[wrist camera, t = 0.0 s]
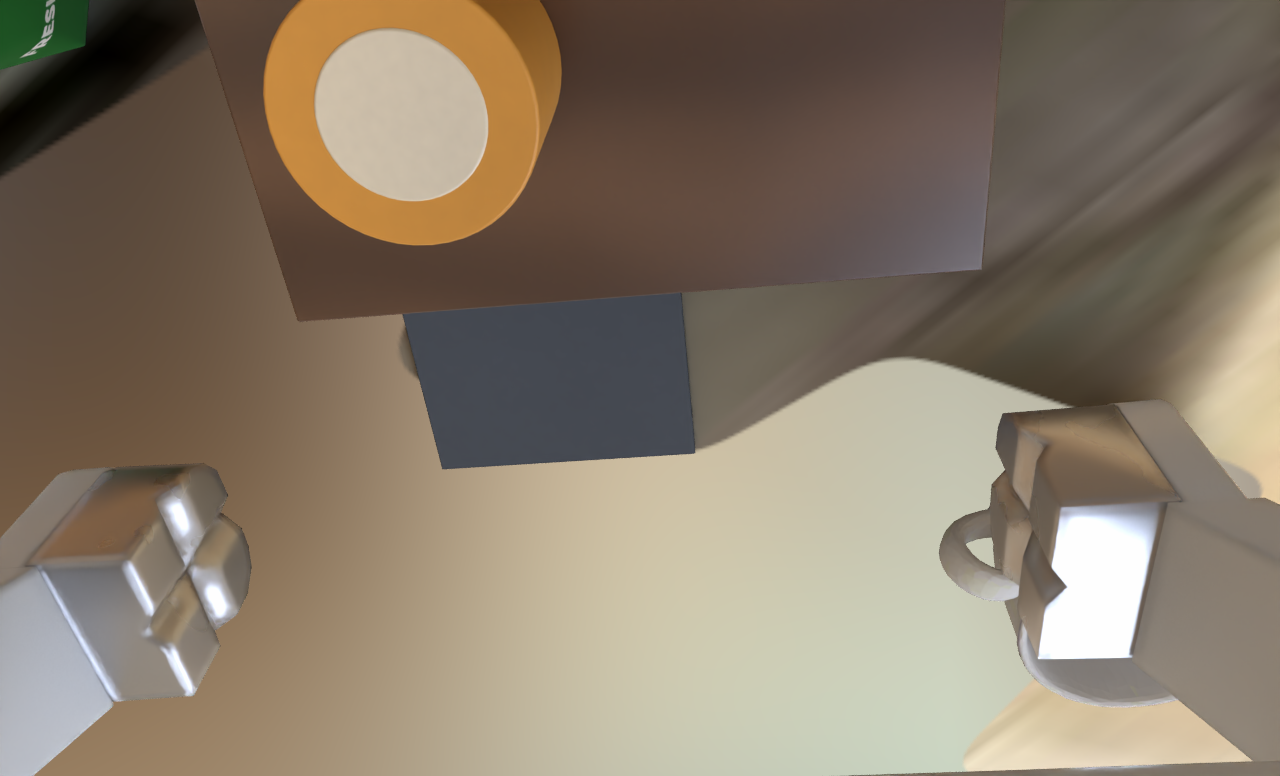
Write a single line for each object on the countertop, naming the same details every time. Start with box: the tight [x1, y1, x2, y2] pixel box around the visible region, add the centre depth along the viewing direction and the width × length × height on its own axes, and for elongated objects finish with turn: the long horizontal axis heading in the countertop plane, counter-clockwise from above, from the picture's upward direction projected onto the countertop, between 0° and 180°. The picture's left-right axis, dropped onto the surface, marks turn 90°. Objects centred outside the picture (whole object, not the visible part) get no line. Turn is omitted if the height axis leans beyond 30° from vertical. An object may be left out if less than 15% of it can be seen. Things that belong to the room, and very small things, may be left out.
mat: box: [403, 293, 695, 469], centre depth 43 cm, size 12×12×1 cm
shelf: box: [195, 0, 1006, 322], centre depth 30 cm, size 14×20×12 cm
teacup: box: [939, 507, 1178, 707], centre depth 43 cm, size 14×11×8 cm
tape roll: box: [263, 0, 562, 245], centre depth 23 cm, size 6×6×5 cm
